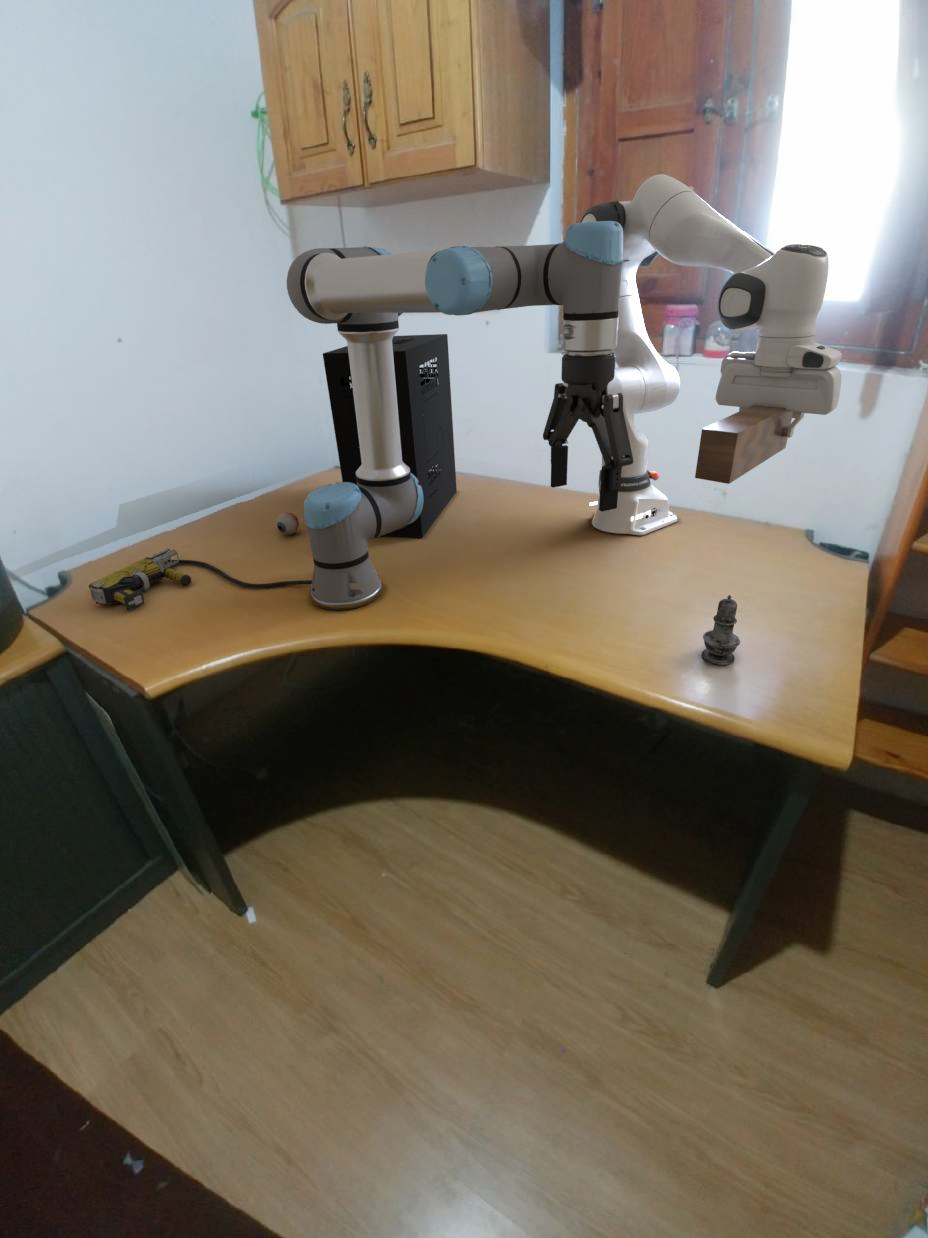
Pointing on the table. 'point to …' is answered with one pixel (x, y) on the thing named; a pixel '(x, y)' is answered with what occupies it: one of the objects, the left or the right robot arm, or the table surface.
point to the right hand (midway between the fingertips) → (766, 434)
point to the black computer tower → (405, 420)
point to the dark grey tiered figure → (722, 635)
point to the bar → (741, 442)
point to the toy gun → (136, 580)
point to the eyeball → (287, 523)
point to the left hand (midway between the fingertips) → (581, 497)
